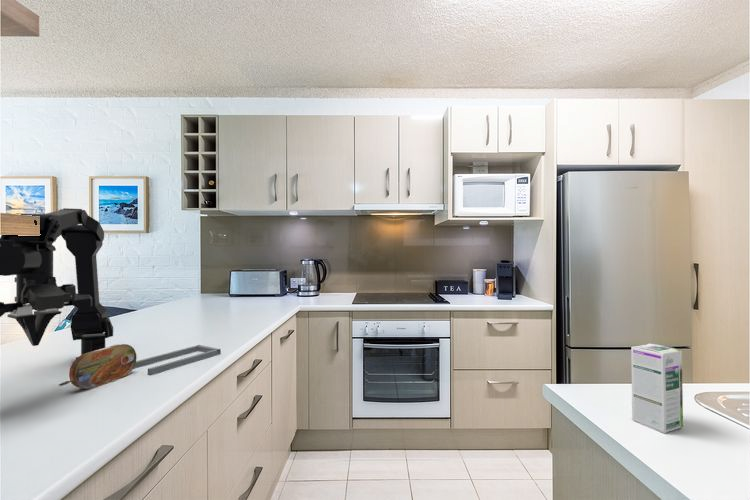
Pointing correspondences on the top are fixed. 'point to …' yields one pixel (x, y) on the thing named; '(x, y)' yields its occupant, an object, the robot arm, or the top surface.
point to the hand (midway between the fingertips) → (35, 345)
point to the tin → (102, 366)
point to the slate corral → (208, 353)
